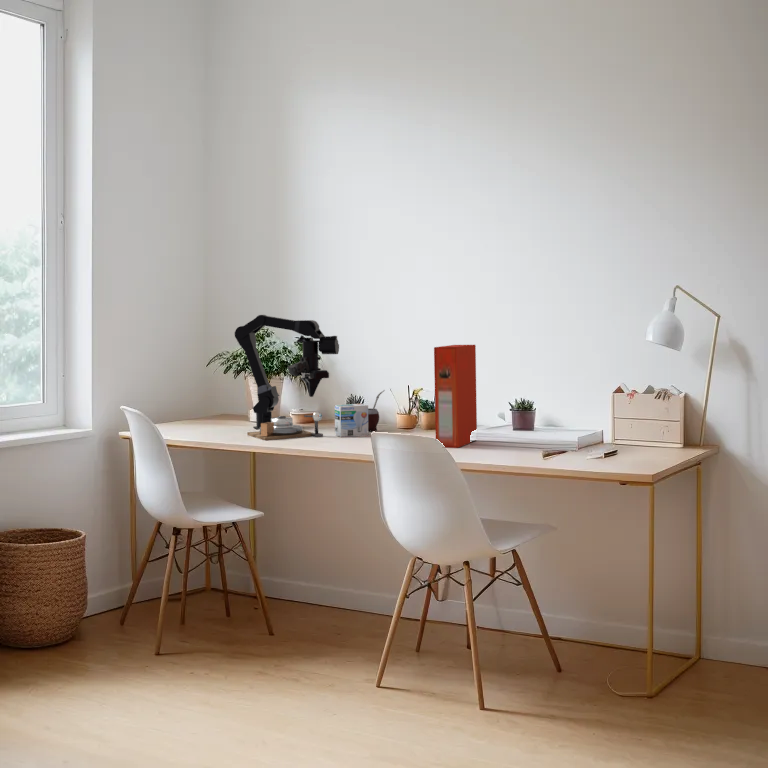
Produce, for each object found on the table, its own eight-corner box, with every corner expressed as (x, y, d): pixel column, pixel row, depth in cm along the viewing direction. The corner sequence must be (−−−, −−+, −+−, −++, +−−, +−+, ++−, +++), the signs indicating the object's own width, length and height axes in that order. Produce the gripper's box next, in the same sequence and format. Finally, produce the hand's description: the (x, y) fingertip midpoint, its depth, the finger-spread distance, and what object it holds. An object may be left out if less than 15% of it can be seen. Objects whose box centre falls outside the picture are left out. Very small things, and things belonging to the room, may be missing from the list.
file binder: (434, 446, 318) (434, 346, 315) (454, 439, 333) (453, 344, 331) (458, 448, 314) (457, 347, 312) (477, 441, 330) (476, 344, 327)
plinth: (247, 435, 353) (247, 432, 353) (296, 431, 362) (296, 428, 362) (264, 440, 339) (264, 437, 339) (315, 436, 348) (315, 433, 348)
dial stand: (304, 436, 348) (303, 411, 348) (316, 434, 351) (316, 410, 350) (310, 437, 344) (309, 412, 343) (323, 436, 346) (322, 412, 346)
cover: (265, 428, 348) (265, 417, 348) (277, 425, 356) (277, 414, 355) (286, 429, 345) (286, 418, 344) (298, 426, 352) (298, 415, 352)
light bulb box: (340, 437, 344) (340, 406, 343) (334, 435, 350) (333, 404, 349) (369, 435, 348) (369, 404, 347) (362, 433, 354) (362, 403, 353)
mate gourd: (356, 431, 360) (355, 389, 359) (373, 429, 365) (373, 388, 364) (368, 433, 354) (367, 391, 353) (385, 431, 359) (385, 389, 358)
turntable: (245, 435, 344) (245, 422, 343) (274, 428, 360) (274, 417, 360) (282, 437, 337) (282, 424, 337) (310, 430, 354) (310, 418, 353)
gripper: (280, 354, 370) (281, 396, 371) (301, 356, 353) (302, 399, 355) (307, 353, 375) (308, 394, 376) (329, 355, 359) (330, 398, 360)
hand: (311, 396), depth 367 cm, fingers closed
